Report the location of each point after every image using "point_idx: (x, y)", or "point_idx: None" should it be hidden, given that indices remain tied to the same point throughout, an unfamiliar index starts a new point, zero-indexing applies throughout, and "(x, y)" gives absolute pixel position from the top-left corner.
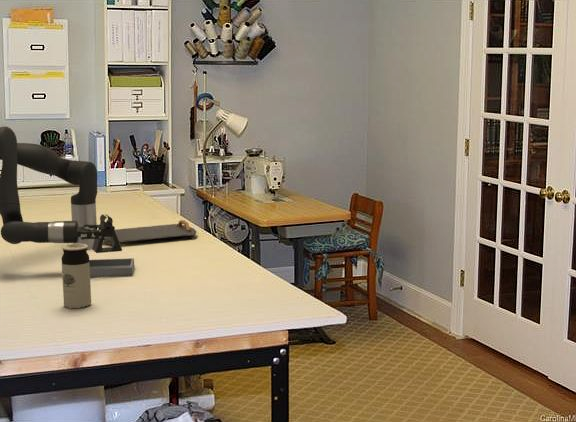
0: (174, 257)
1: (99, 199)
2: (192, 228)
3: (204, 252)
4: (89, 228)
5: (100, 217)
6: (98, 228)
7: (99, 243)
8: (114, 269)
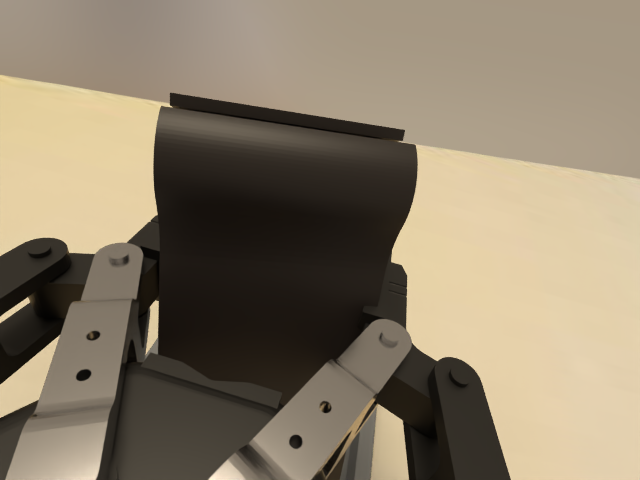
0: (144, 183)
1: None
2: None
3: (145, 130)
4: (333, 448)
5: (186, 170)
6: (37, 300)
7: None
8: (372, 425)
